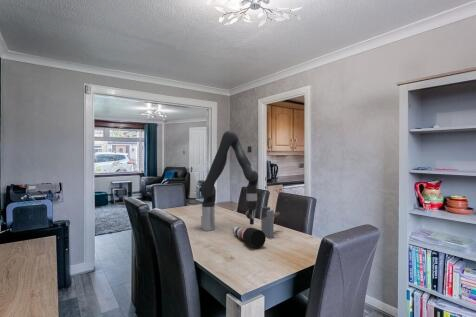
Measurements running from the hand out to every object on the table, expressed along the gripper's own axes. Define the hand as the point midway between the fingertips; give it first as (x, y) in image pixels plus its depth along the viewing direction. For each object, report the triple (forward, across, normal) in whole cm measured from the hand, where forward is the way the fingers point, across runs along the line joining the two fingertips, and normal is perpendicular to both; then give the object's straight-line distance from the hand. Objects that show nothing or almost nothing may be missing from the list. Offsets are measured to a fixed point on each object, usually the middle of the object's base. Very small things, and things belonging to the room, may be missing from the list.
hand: (251, 224), depth 181 cm
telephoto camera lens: (+7, +14, +5) cm, 17 cm away
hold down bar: (-6, -8, +11) cm, 15 cm away
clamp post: (+6, -1, +13) cm, 14 cm away
